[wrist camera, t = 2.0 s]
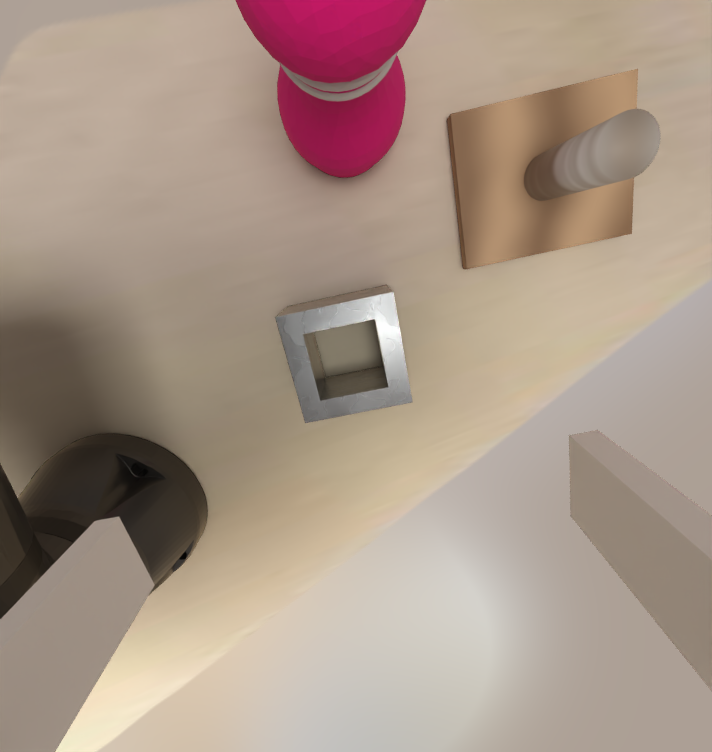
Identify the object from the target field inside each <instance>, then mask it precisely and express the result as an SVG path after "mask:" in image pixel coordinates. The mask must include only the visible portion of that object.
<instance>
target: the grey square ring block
mask: <svg viewBox="0 0 712 752" xmlns="http://www.w3.org/2000/svg"><path fill="white" fill-rule="evenodd" d="M275 318H276V322H277V325H278V329H279V332H280V336H281V339H282V343H283V346H284V350H285V353H286V357H287V360H288V364H289V367H290V371H291V374H292V378H293V381H294V385H295V388H296V392H297V395H298V399H299V402H300V406H301V409H302V413H303V416H304V420H305V423H308V422H313V421H318V420H324V419H329V418H334V417H339V416H344V415H349V414H354V413H359V412H365V411H370V410H375V409H380V408H385V407H390V406H395V405H401V404H406V403H411V402H412V396H411V390H410V385H409V379H408V373H407V367H406V362H405V356H404V350H403V344H402V338H401V333H400V327H399V321H398V315H397V309H396V304H395V298H394V292H393V291H392V290H391V289H390V288H389V287H388V286H387V285H384V286H379V287H375V288H370V289H365V290H361V291H356V292H351V293H347V294H342V295H337V296H333V297H328V298H324V299H319V300H314V301H310V302H305V303H300V304H296V305H291V306H288V307H286V308H285V309H284V310H283V311H282V312H281V313H280V314H278V315H277V316H276V317H275ZM373 319H374V322H375V327H376V332H377V338H378V343H379V348H380V353H381V358H382V363H383V366H381V367H376V368H371V369H366V370H361V371H356V372H351V373H346V374H341V375H336V376H331V377H326V378H325V374H324V370H323V366H322V362H321V358H320V355H319V351H318V347H317V343H316V339H315V335H314V332H316V331H321V330H325V329H330V328H335V327H340V326H344V325H349V324H354V323H359V322H363V321H368V320H373Z"/></svg>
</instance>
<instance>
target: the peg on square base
mask: <svg viewBox="0 0 712 752" xmlns="http://www.w3.org/2000/svg"><path fill="white" fill-rule="evenodd" d="M637 80H638V69H635V70H631V71H627V72H623V73H619V74H614V75H610V76H606V77H602V78H598V79H594V80H590V81H586V82H581V83H577V84H573V85H569V86H565V87H561V88H557V89H553V90H548V91H544V92H540V93H536V94H532V95H528V96H524V97H520V98H515V99H511V100H507V101H503V102H499V103H495V104H491V105H486V106H482V107H478V108H474V109H470V110H466V111H462V112H458V113H453V114H450V116H449V117H448V119H447V124H448V133H449V142H450V152H451V161H452V170H453V179H454V188H455V198H456V207H457V216H458V225H459V234H460V244H461V253H462V262H463V268H464V269H470V268H474V267H479V266H484V265H488V264H493V263H497V262H502V261H507V260H511V259H516V258H521V257H525V256H530V255H535V254H539V253H544V252H549V251H553V250H558V249H562V248H567V247H572V246H576V245H581V244H586V243H590V242H595V241H600V240H604V239H609V238H614V237H618V236H623V235H627V234H632V213H633V187H634V177H636V176H637V175H639V174H640V173H642V172H643V171H644V170H645V169H646V168H647V167H648V166H649V165H650V164H651V162H652V161H653V159H654V158H655V156H656V154H657V151H658V148H659V144H660V128H659V125H658V123H657V121H656V119H655V118H654V116H653V115H652V114H650V113H649V112H647V111H645V110H642V109H636V107H637Z"/></svg>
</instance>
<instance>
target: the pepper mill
mask: <svg viewBox="0 0 712 752" xmlns="http://www.w3.org/2000/svg"><path fill="white" fill-rule="evenodd" d="M236 2H237V5H238V7H239V9H240V11H241V14H242V16H243V18H244V20H245V21H246V23H247V25H248V26H249V28H250V29H251V31H252V33H253V34H254V36H255V37H256V39H257V40H258V41H259V42H260V43H261V44H262V45H263V47H264V48H265V49H266V50H267V51H268V52H269V53H270V55H271V56H272V57H273V58H274V59H276V60H277V61H278V62H279V63H280V70H279V77H278V83H277V92H278V104H279V110H280V115H281V118H282V122H283V125H284V128H285V131H286V133H287V135H288V137H289V140H290V141H291V143H292V144H293V146H294V148H295V149H296V150H297V151H298V153H299V154H300V155H301V156H302V157H303V158H304V159H305V160H306V161H308V162H309V163H310V164H312V165H313V166H315V167H317V168H318V169H320V170H321V171H323V172H325V173H327V174H329V175H332V176H336V177H340V178H341V177H354V176H357V175H359V174H361V173H363V172H365V171H367V170H368V169H370V168H371V167H372V166H373V165H374V164H376V163H377V162H378V161H379V160H380V159H381V158H382V157H383V156H384V155H385V154H386V153H387V152H388V150H389V149H390V148H391V146H392V145H393V143H394V141H395V139H396V137H397V135H398V133H399V130H400V127H401V124H402V119H403V114H404V107H405V81H404V75H403V71H402V68H401V64H400V61H399V59H398V56H397V53H398V51H399V50H400V49H401V48H402V47H403V45H404V44H405V42H406V40H407V39H408V37H409V36H410V34H411V32H412V31H413V29H414V27H415V26H416V24H417V22H418V20H419V17H420V15H421V12H422V10H423V7H424V5H425V2H426V0H236Z"/></svg>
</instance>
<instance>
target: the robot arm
mask: <svg viewBox="0 0 712 752" xmlns="http://www.w3.org/2000/svg"><path fill="white" fill-rule="evenodd" d="M569 457H570V510H571V517H572V518H573V520H574V521H575V522H576V523H577V525H578V526H579V527H580V528H581V529H582V531H583V532H584V533H585V535H586V536H587V537H588V538H589V539H590V541H591V542H592V543H593V545H594V546H595V547H596V548H597V550H598V551H599V552H600V553H601V554H602V556H603V557H604V558H605V559H606V561H607V562H608V563H609V564H610V566H611V567H612V568H613V569H614V570H615V572H616V573H617V574H618V576H619V577H620V578H621V579H622V580H623V582H624V583H625V584H626V585H627V587H628V588H629V589H630V590H631V592H632V593H633V594H634V595H635V596H636V598H637V599H638V600H639V602H640V603H641V604H642V605H643V606H644V608H645V609H646V610H647V612H648V613H649V614H650V615H651V617H652V618H653V619H654V620H655V622H656V623H657V624H658V625H659V626H660V628H661V629H662V630H663V631H664V633H665V634H666V635H667V636H668V638H669V639H670V640H671V641H672V643H673V644H674V645H675V646H676V647H677V649H678V650H679V651H680V653H681V654H682V655H683V656H684V658H685V659H686V660H687V661H688V662H689V664H690V665H691V666H692V667H693V669H694V670H695V671H696V672H697V674H698V675H699V676H700V677H701V679H702V680H703V681H704V682H705V684H706V685H707V686H708V687H709V688H710V690H711V691H712V515H711V514H709V513H708V512H707V511H706V510H704V509H703V508H701V507H700V506H698V505H697V504H696V503H695V502H693V501H692V500H691V499H689V498H688V497H687V496H685V495H684V494H683V493H681V492H680V491H679V490H677V489H676V488H674V487H673V486H672V485H671V484H669V483H668V482H667V481H665V480H664V479H663V478H661V477H660V476H659V475H657V474H656V473H655V472H653V471H652V470H651V469H649V468H648V467H647V466H645V465H644V464H643V463H641V462H640V461H638V460H637V459H636V458H634V457H633V456H632V455H631V454H629V453H628V452H627V451H625V450H624V449H622V448H621V447H620V446H618V445H617V444H616V443H614V442H613V441H612V440H610V439H609V438H608V437H606V436H605V435H604V434H602V433H601V432H600V431H598V430H595V431H590V432H585V433H579V434H574V435H569ZM206 521H207V504H206V499H205V495H204V493H203V490H202V488H201V486H200V484H199V482H198V480H197V479H196V477H195V476H194V475H193V473H192V472H191V471H190V470H189V468H188V467H187V466H186V465H185V464H184V463H183V462H182V461H180V460H179V459H178V458H177V457H176V456H174V455H173V454H171V453H170V452H169V451H167V450H165V449H164V448H162V447H160V446H158V445H156V444H154V443H151V442H149V441H146V440H143V439H140V438H137V437H132V436H127V435H120V434H101V435H94V436H90V437H86V438H83V439H80V440H78V441H75V442H73V443H72V444H70V445H68V446H67V447H65V448H64V449H62V450H61V451H60V452H58V453H57V454H55V455H54V456H52V457H51V458H50V459H48V460H47V461H46V462H45V463H44V464H43V465H42V466H41V467H40V468H39V469H38V470H37V471H36V473H35V474H34V476H33V477H32V478H31V481H30V482H29V483H28V485H27V486H26V487H25V489H24V490H23V492H22V493H21V494H20V496H19V497H18V498H17V496H16V494H15V492H14V490H13V488H12V486H11V484H10V482H9V480H8V478H7V476H6V474H5V472H4V470H3V468H2V466H1V464H0V752H55V751H56V749H57V748H58V746H59V744H60V743H61V741H62V739H63V738H64V736H65V734H66V733H67V731H68V729H69V727H70V726H71V724H72V722H73V721H74V719H75V717H76V716H77V714H78V712H79V711H80V709H81V707H82V706H83V704H84V702H85V701H86V699H87V697H88V696H89V694H90V692H91V691H92V689H93V687H94V686H95V684H96V682H97V681H98V679H99V677H100V676H101V674H102V672H103V671H104V669H105V667H106V666H107V664H108V662H109V661H110V659H111V657H112V656H113V654H114V652H115V651H116V649H117V647H118V646H119V644H120V642H121V641H122V639H123V637H124V636H125V634H126V632H127V631H128V629H129V627H130V626H131V624H132V622H133V621H134V619H135V617H136V616H137V614H138V612H139V611H140V609H141V607H142V606H143V604H144V602H145V601H146V599H147V597H148V596H149V595H150V594H151V593H152V592H153V591H154V590H155V589H156V588H157V587H159V586H160V585H161V584H162V583H163V582H164V581H165V580H166V579H167V578H168V577H169V576H170V575H171V574H172V573H173V572H174V571H176V570H177V569H178V568H179V567H180V566H181V565H182V564H183V563H184V562H185V561H186V560H187V559H188V557H189V556H190V555H191V553H192V552H193V550H194V548H195V547H196V545H197V543H198V541H199V539H200V537H201V535H202V533H203V531H204V529H205V525H206Z"/></svg>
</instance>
